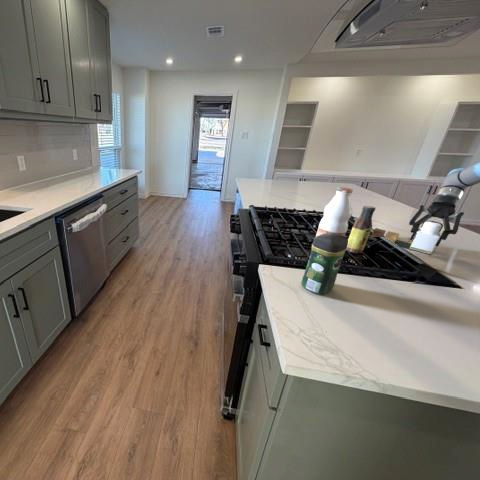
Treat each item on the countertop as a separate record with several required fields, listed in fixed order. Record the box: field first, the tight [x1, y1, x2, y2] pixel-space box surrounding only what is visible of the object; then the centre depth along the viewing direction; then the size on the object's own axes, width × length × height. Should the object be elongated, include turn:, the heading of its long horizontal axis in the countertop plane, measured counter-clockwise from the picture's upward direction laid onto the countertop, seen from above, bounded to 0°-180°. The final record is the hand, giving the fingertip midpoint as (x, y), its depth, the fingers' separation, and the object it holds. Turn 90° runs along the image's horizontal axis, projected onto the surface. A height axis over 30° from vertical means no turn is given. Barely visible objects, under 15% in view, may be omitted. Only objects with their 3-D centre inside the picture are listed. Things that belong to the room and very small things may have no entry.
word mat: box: [367, 235, 433, 256], centre depth 118 cm, size 22×10×1 cm, turn 39°
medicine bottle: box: [411, 220, 444, 253], centre depth 110 cm, size 7×7×12 cm
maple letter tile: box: [384, 230, 400, 243], centre depth 120 cm, size 4×4×4 cm
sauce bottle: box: [346, 205, 376, 254], centre depth 106 cm, size 7×6×20 cm
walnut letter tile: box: [370, 227, 387, 239], centre depth 123 cm, size 4×4×4 cm
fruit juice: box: [315, 186, 354, 237], centre depth 99 cm, size 9×9×28 cm
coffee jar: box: [300, 232, 348, 295], centre depth 79 cm, size 10×8×19 cm
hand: (424, 241), depth 109 cm, fingers closed on medicine bottle, 7 cm apart
